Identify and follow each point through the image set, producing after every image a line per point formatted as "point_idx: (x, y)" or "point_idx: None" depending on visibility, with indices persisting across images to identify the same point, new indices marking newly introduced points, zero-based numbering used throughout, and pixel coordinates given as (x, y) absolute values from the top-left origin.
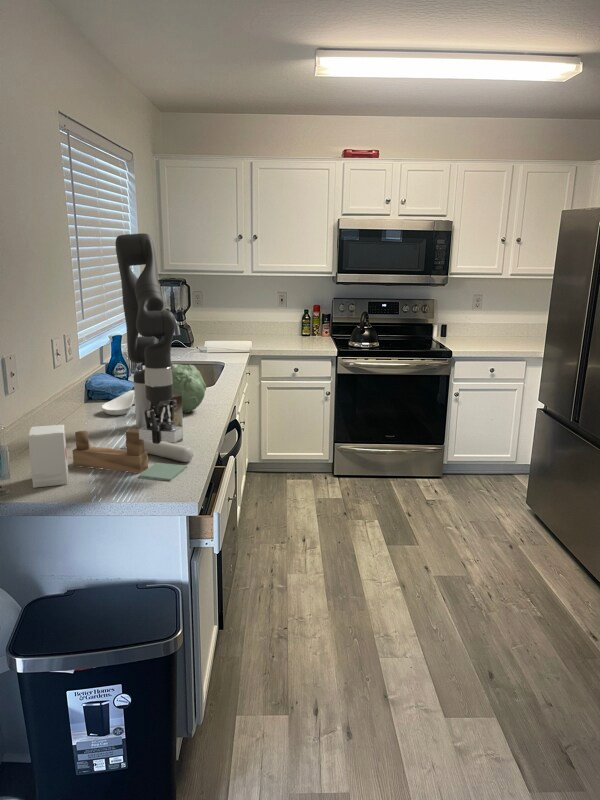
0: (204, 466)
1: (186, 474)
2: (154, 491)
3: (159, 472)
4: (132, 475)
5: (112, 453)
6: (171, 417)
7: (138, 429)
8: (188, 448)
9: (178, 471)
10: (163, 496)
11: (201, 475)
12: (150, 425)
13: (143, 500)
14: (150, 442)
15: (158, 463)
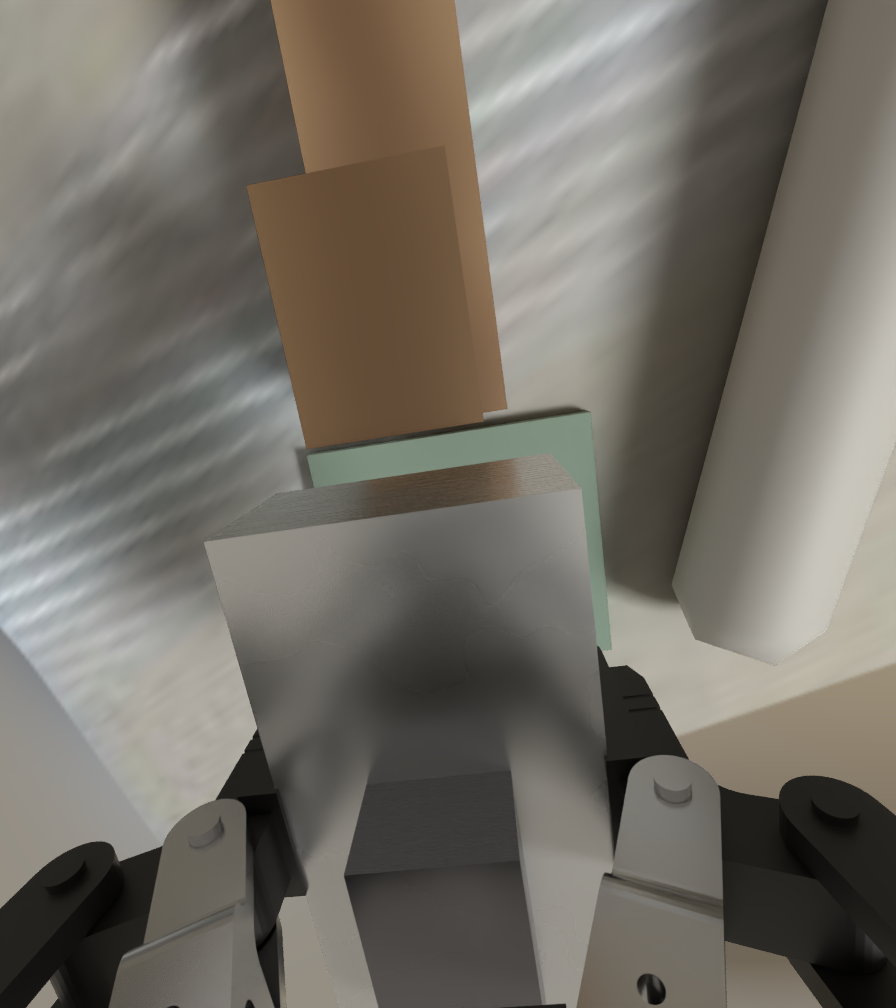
0: (670, 724)
1: None
2: (190, 672)
3: None
4: None
5: (305, 79)
6: (814, 987)
7: (467, 323)
8: (779, 650)
9: None
10: (165, 747)
11: None
12: (155, 887)
13: (67, 687)
14: (866, 182)
15: (579, 439)
